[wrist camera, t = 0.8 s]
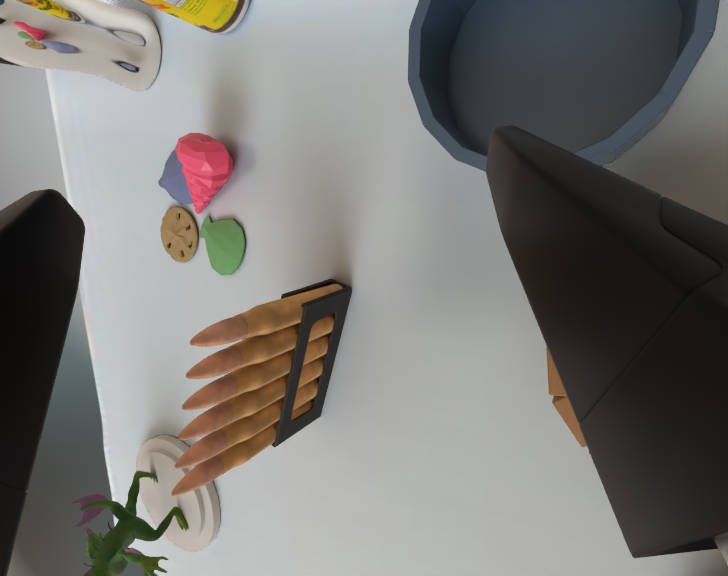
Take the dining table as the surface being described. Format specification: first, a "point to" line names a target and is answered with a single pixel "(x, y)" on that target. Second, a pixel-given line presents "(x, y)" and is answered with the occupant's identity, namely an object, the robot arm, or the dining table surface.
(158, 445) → the monster figurine
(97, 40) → the clear pen holder cup
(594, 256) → the robot arm
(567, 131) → the pot
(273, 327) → the ammunition clip
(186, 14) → the supplement bottle
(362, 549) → the dining table surface
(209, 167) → the toy pieces
